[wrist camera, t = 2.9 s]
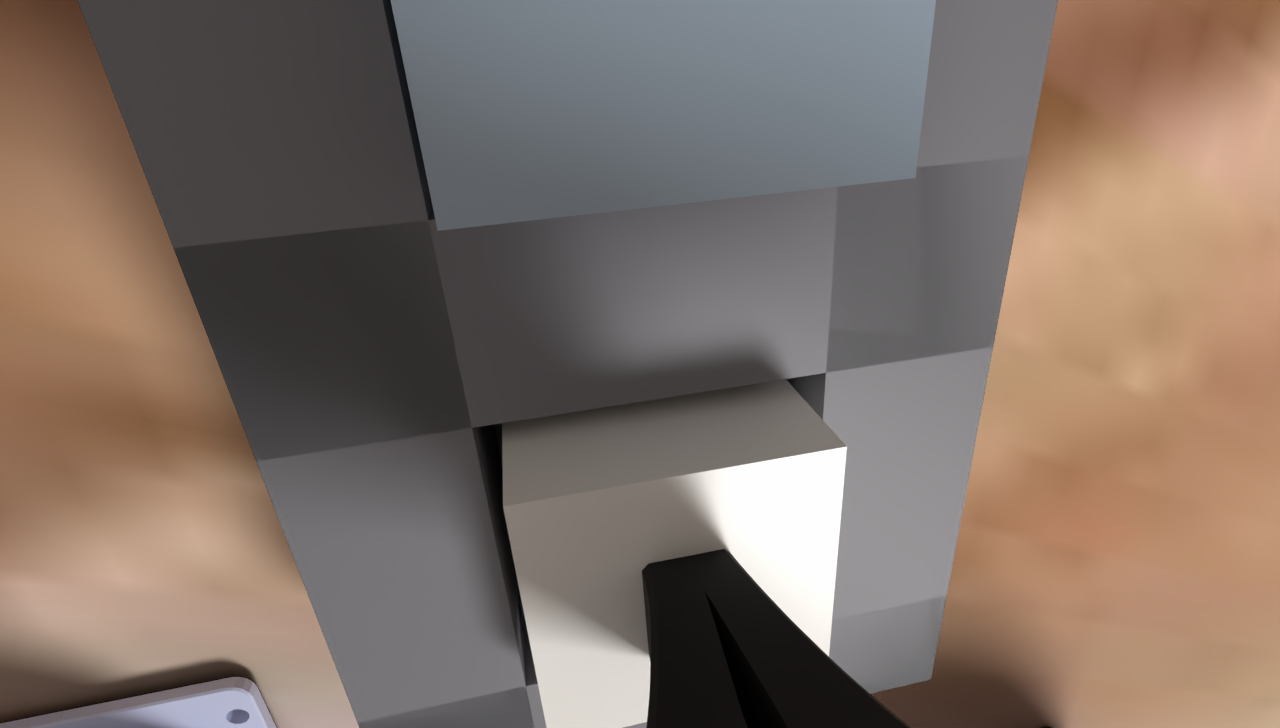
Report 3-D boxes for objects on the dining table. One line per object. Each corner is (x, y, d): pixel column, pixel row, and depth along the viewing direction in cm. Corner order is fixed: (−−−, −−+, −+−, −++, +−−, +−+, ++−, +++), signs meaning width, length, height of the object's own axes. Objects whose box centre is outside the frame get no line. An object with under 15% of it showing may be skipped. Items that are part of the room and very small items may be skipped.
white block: (750, 536, 15) (826, 680, 12) (537, 577, 14) (550, 744, 11) (751, 341, 13) (847, 446, 10) (501, 378, 12) (502, 506, 9)
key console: (839, 548, 19) (931, 679, 15) (415, 633, 17) (390, 806, 13) (924, -434, 10) (1198, -753, 6) (82, -470, 8) (-291, -950, 4)
